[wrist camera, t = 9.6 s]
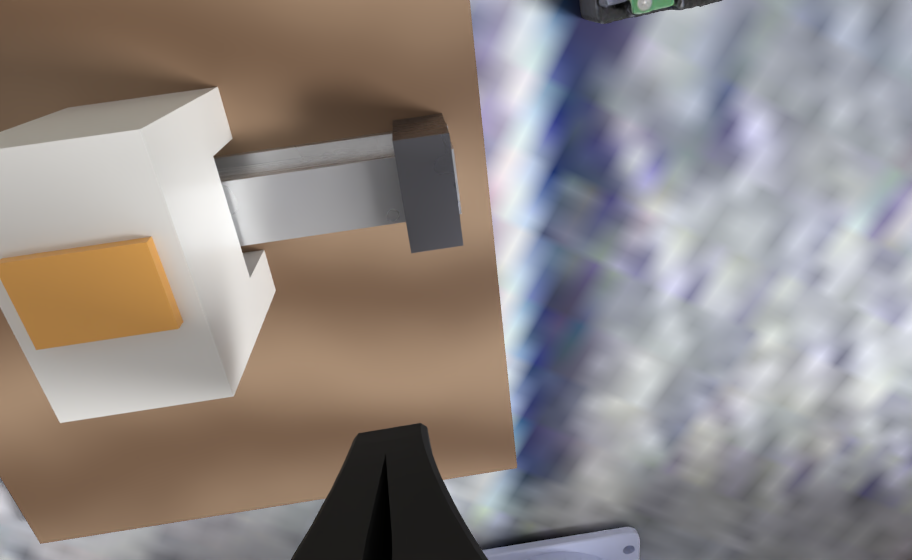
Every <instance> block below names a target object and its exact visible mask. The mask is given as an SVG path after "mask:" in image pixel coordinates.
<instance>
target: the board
mask: <svg viewBox="0 0 912 560" xmlns="http://www.w3.org/2000/svg"><path fill="white" fill-rule="evenodd" d="M212 87H218V89H219V93H220V96H221V100H222V103H223V107H224V110H225V114H226V117H227V121H228V124H229V128H230V131H231V135H232V138H233V139H232V140H230V141H229V142H228V143H227V144H226V145H225V146H224V147H223V148H222V149H221V150H219V151H218V152H217V153H216V154H215V155H214V156H213V157H215V156H222V155H229V154H236V153H243V152H250V151H257V150H264V149H271V148H278V147H285V146H292V145H299V144H306V143H313V142H320V141H327V140H334V139H341V138H348V137H355V136H362V135H369V134H376V133H383V132H390V131H393V120H398V119H405V118H412V117H419V116H426V115H433V114H440V113H442V115H443V117H444V120H445V123H446V124H447V125H448V131H449V135H450V140H451V143H452V146H453V149H454V156H455V164H456V172H457V180H458V188H459V197H460V205H461V213H462V214H460V222H461V230H462V237H463V245H464V246H457V247H451V248H444V249H437V250H430V251H424V252H417V253H411V249H410V243H409V237H408V231H407V225H406V222H402V223H395V224H389V225H382V226H375V227H368V228H361V229H355V230H348V231H341V232H334V233H327V234H321V235H314V236H307V237H300V238H293V239H286V240H280V241H273V242H266V243H259V244H252V245H246V246H240V247H241V250H242V253H246V252H253V251H260V250H264V251H265V254H266V258H267V261H268V265H269V268H270V272H271V275H272V279H273V282H274V286H275V290H276V291H275V294H274V296H273V299H272V301H271V304H270V306H269V309H268V311H267V314H266V317H265V319H264V322H263V324H262V327H261V329H260V332H259V334H258V337H257V339H256V342H255V344H254V347H253V349H252V352H251V354H250V357H249V359H248V362H247V364H246V367H245V369H244V372H243V374H242V377H241V379H240V382H239V384H238V387H237V389H236V392H235V395H234V397H227V398H220V399H214V400H207V401H201V402H194V403H188V404H181V405H175V406H168V407H162V408H155V409H149V410H142V411H135V412H129V413H122V414H116V415H109V416H103V417H96V418H90V419H83V420H77V421H70V422H64V423H60V422H59V420H58V418H57V416H56V414H55V412H54V410H53V409H52V407H51V405H50V403H49V401H48V399H47V397H46V395H45V393H44V391H43V389H42V387H41V385H40V383H39V381H38V380H37V378H36V376H35V374H34V372H33V370H32V368H31V366H30V364H29V362H28V360H27V358H26V356H25V354H24V352H23V351H22V349H21V347H20V345H19V343H18V341H17V339H16V337H15V335H14V333H13V331H12V329H11V327H10V325H9V324H8V322H7V320H6V318H5V316H4V314H3V312H2V310H1V308H0V478H1V479H2V481H3V482H4V484H5V486H6V487H7V489H8V491H9V492H10V494H11V496H12V497H13V499H14V501H15V502H16V504H17V506H18V507H19V509H20V511H21V512H22V514H23V516H24V517H25V519H26V521H27V522H28V524H29V526H30V527H31V529H32V531H33V532H34V534H35V535H36V537H37V539H38V540H39V542H40V544H42V543H48V542H54V541H61V540H67V539H73V538H79V537H86V536H92V535H98V534H105V533H111V532H117V531H124V530H130V529H136V528H142V527H149V526H155V525H161V524H168V523H174V522H180V521H186V520H193V519H199V518H205V517H212V516H218V515H224V514H231V513H237V512H243V511H249V510H256V509H262V508H268V507H275V506H281V505H287V504H293V503H300V502H306V501H312V500H319V499H325V498H326V497H327V496H328V494H329V492H330V490H331V488H332V486H333V484H334V482H335V480H336V478H337V476H338V474H339V472H340V469H341V467H342V465H343V463H344V461H345V459H346V456H347V454H348V452H349V449H350V447H351V445H352V442H353V440H354V438H355V437H356V436H357V434H358V433H363V432H369V431H375V430H381V429H387V428H393V427H399V426H405V425H411V424H417V423H422V424H423V425H425V426H427V428H428V433H429V438H430V443H431V448H432V453H433V457H434V460H435V462H436V465H437V468H438V470H439V473H440V475H441V477H442V479H443V480H445V479H451V478H457V477H463V476H470V475H476V474H482V473H489V472H495V471H501V470H508V469H514V468H517V462H516V452H515V442H514V432H513V423H512V413H511V403H510V393H509V383H508V374H507V364H506V354H505V344H504V334H503V324H502V315H501V305H500V295H499V285H498V275H497V265H496V256H495V246H494V236H493V226H492V216H491V207H490V197H489V187H488V177H487V167H486V157H485V148H484V138H483V128H482V118H481V108H480V98H479V89H478V79H477V69H476V59H475V49H474V40H473V30H472V20H471V10H470V0H0V132H1V131H4V130H7V129H10V128H13V127H15V126H18V125H21V124H24V123H26V122H29V121H32V120H35V119H37V118H40V117H43V116H46V115H49V114H51V113H54V112H57V111H60V110H62V109H65V108H68V107H75V106H83V105H90V104H97V103H104V102H111V101H119V100H126V99H133V98H140V97H148V96H155V95H162V94H169V93H176V92H184V91H191V90H198V89H205V88H212Z"/></svg>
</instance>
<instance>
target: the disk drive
mask: <svg viewBox="0 0 912 560" xmlns="http://www.w3.org/2000/svg"><path fill="white" fill-rule="evenodd" d="M579 1H580V11H581V16H582V18H584V19H586V20H589V21H593V22H597V23H601V24H606V23H611V22H613V21H618V20H622V19H626V18H630V17H638V16H642V15H647V14H651V13H655V12H659V11H664V10H683V9H687V8H693V7H696V6H700V7H701V6H704V5H707V4H710V3H714V2H719V1H722V0H579Z"/></svg>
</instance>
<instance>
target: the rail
mask: <svg viewBox="0 0 912 560" xmlns="http://www.w3.org/2000/svg"><path fill="white" fill-rule="evenodd" d="M214 161H215V164H216V167H217V171H218V174H219V177H220V181H221V184H222V187H223V190H224V194H225V197H226V200H227V204H228V207H229V210H230V214H231V217H232V220H233V223H234V227H235V230H236V233H237V237H238V240H239V243H240V246H246V245H252V244H259V243H266V242H273V241H280V240H286V239H293V238H300V237H307V236H314V235H321V234H327V233H334V232H341V231H348V230H355V229H361V228H368V227H375V226H382V225H389V224H395V223H402V222H406V225H407V231H408V237H409V243H410V249H411V253H417V252H424V251H430V250H437V249H444V248H451V247H457V246H464V245H463V237H462V230H461V222H460V214H462V213H461V205H460V197H459V188H458V180H457V172H456V164H455V156H454V149H453V146H452V143H451V140H450V135H449V131H448V125H447V124H446V123H445V120H444V117H443V115H442V113H440V114H433V115H426V116H419V117H412V118H405V119H398V120H393V131H390V132H383V133H376V134H369V135H362V136H355V137H348V138H341V139H334V140H327V141H320V142H313V143H306V144H299V145H292V146H285V147H278V148H271V149H264V150H257V151H250V152H243V153H236V154H229V155H222V156H215V157H214Z"/></svg>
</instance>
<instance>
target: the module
mask: <svg viewBox="0 0 912 560" xmlns="http://www.w3.org/2000/svg"><path fill="white" fill-rule="evenodd" d="M232 139H233V138H232V135H231V131H230V128H229V124H228V121H227V117H226V114H225V110H224V107H223V103H222V100H221V96H220V93H219V89H218V87H212V88H205V89H198V90H191V91H184V92H176V93H169V94H162V95H155V96H148V97H140V98H133V99H126V100H119V101H111V102H104V103H97V104H90V105H83V106H75V107H68V108H65V109H62V110H60V111H57V112H54V113H51V114H49V115H46V116H43V117H40V118H37V119H35V120H32V121H29V122H26V123H24V124H21V125H18V126H15V127H13V128H10V129H7V130H4V131H1V132H0V308H1V310H2V312H3V314H4V316H5V318H6V320H7V322H8V324H9V325H10V327H11V329H12V331H13V333H14V335H15V337H16V339H17V341H18V343H19V345H20V347H21V349H22V351H23V352H24V354H25V356H26V358H27V360H28V362H29V364H30V366H31V368H32V370H33V372H34V374H35V376H36V378H37V380H38V381H39V383H40V385H41V387H42V389H43V391H44V393H45V395H46V397H47V399H48V401H49V403H50V405H51V407H52V409H53V410H54V412H55V414H56V416H57V418H58V420H59V422H60V423H64V422H70V421H77V420H83V419H90V418H96V417H103V416H109V415H116V414H122V413H129V412H135V411H142V410H149V409H155V408H162V407H168V406H175V405H181V404H188V403H194V402H201V401H207V400H214V399H220V398H227V397H234V395H235V392H236V389H237V387H238V384H239V382H240V379H241V377H242V374H243V372H244V369H245V367H246V364H247V362H248V359H249V357H250V354H251V352H252V349H253V347H254V344H255V342H256V339H257V337H258V334H259V332H260V329H261V327H262V324H263V322H264V319H265V317H266V314H267V311H268V309H269V306H270V304H271V301H272V299H273V296H274V294H275V291H276V290H275V286H274V282H273V279H272V275H271V272H270V268H269V265H268V261H267V258H266V254H265V251H264V250H260V251H253V252H246V253H242V250H241V247H240V243H239V240H238V237H237V233H236V230H235V227H234V223H233V220H232V217H231V214H230V210H229V207H228V204H227V200H226V197H225V194H224V190H223V187H222V184H221V181H220V177H219V174H218V171H217V167H216V164H215V161H214V157H213V156H214V155H215V154H216V153H217V152H218V151H219V150H221V149H222V148H223V147H224V146H225V145H226V144H227V143H228V142H229V141H230V140H232Z"/></svg>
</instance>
